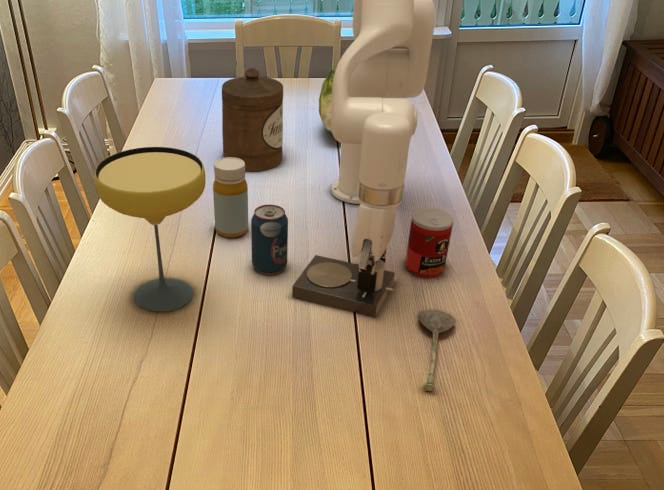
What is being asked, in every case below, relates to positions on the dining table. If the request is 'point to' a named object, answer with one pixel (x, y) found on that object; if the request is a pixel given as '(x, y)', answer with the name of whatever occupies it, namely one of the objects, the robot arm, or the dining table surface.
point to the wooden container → (253, 120)
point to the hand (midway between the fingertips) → (370, 281)
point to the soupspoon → (435, 335)
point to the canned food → (428, 241)
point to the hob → (343, 290)
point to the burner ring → (329, 275)
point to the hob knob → (379, 273)
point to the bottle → (230, 197)
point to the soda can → (269, 239)
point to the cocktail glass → (153, 205)
